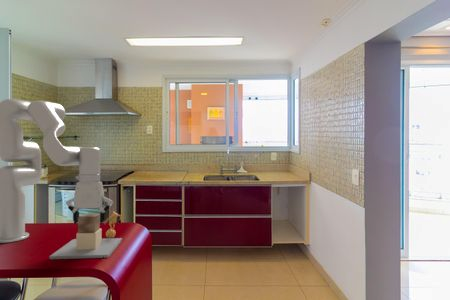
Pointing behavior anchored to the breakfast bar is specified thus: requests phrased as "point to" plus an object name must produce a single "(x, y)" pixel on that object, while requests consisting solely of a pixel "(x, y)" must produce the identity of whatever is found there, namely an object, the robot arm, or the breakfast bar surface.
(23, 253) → the breakfast bar surface
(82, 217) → the walnut cube
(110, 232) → the figurine
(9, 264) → the breakfast bar surface
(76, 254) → the base plate
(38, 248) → the breakfast bar surface
